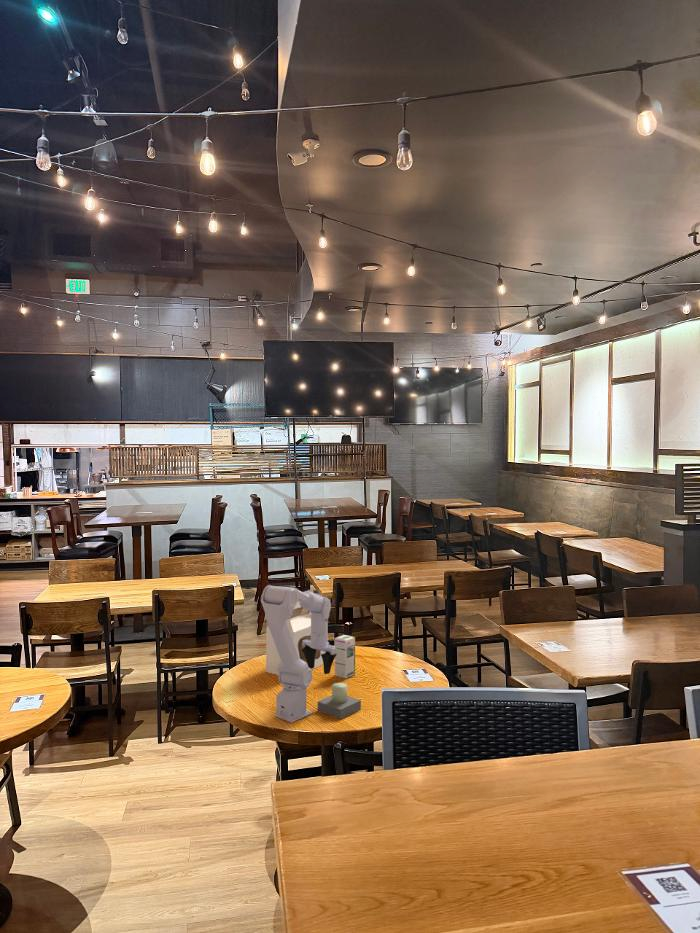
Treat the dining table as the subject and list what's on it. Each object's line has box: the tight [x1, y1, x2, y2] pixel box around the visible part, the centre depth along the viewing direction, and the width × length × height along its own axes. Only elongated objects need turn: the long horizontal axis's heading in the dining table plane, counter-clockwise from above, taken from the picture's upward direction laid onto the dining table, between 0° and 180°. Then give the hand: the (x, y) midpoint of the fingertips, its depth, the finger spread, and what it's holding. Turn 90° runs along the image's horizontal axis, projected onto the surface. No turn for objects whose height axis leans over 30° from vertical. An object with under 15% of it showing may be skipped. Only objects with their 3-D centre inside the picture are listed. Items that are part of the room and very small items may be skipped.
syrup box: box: [333, 634, 356, 679], centre depth 234 cm, size 6×6×14 cm
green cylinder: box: [331, 682, 348, 704], centre depth 201 cm, size 5×5×5 cm
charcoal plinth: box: [317, 695, 362, 720], centre depth 201 cm, size 10×10×3 cm
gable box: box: [265, 602, 326, 676], centre depth 242 cm, size 22×13×28 cm, turn 148°
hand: (319, 670), depth 211 cm, fingers open, 7 cm apart
